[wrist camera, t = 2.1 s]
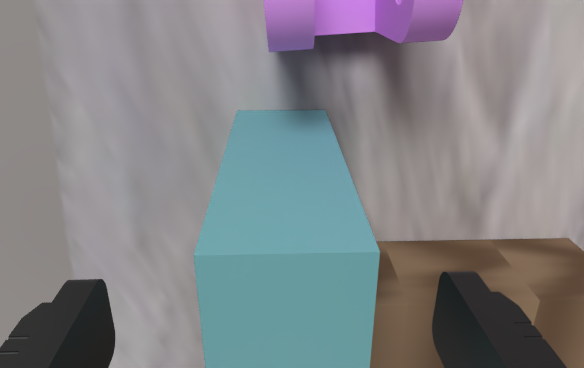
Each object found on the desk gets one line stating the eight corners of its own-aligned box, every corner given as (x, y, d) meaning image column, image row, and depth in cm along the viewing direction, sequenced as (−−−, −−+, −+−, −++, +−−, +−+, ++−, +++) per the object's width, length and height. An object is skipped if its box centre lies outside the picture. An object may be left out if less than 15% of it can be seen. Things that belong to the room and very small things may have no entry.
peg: (325, 110, 21) (379, 251, 10) (322, 189, 22) (368, 387, 11) (237, 110, 21) (193, 255, 10) (241, 190, 22) (207, 392, 11)
